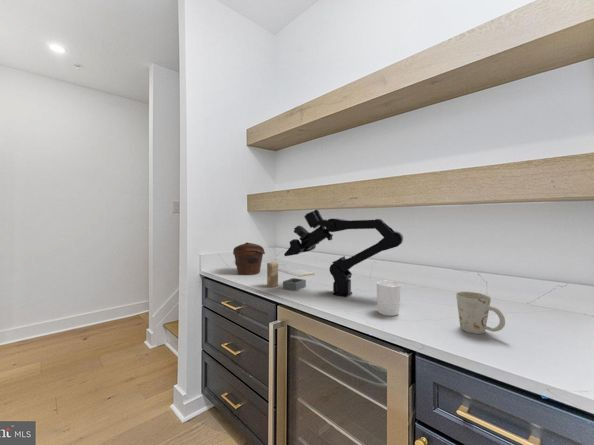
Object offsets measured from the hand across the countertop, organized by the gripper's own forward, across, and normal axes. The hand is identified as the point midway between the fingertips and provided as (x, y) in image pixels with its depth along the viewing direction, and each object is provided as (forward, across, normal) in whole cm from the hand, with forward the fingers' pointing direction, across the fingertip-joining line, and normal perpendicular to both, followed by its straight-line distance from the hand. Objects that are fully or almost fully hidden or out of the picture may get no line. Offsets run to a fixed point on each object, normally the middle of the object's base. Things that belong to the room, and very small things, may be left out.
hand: (289, 254), depth 127 cm
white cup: (-30, +16, +38) cm, 51 cm away
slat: (+15, +1, +9) cm, 17 cm away
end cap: (+6, -1, +14) cm, 16 cm away
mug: (-52, +22, +52) cm, 76 cm away
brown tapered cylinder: (+39, -20, -7) cm, 45 cm away
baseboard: (+23, -35, +5) cm, 42 cm away
